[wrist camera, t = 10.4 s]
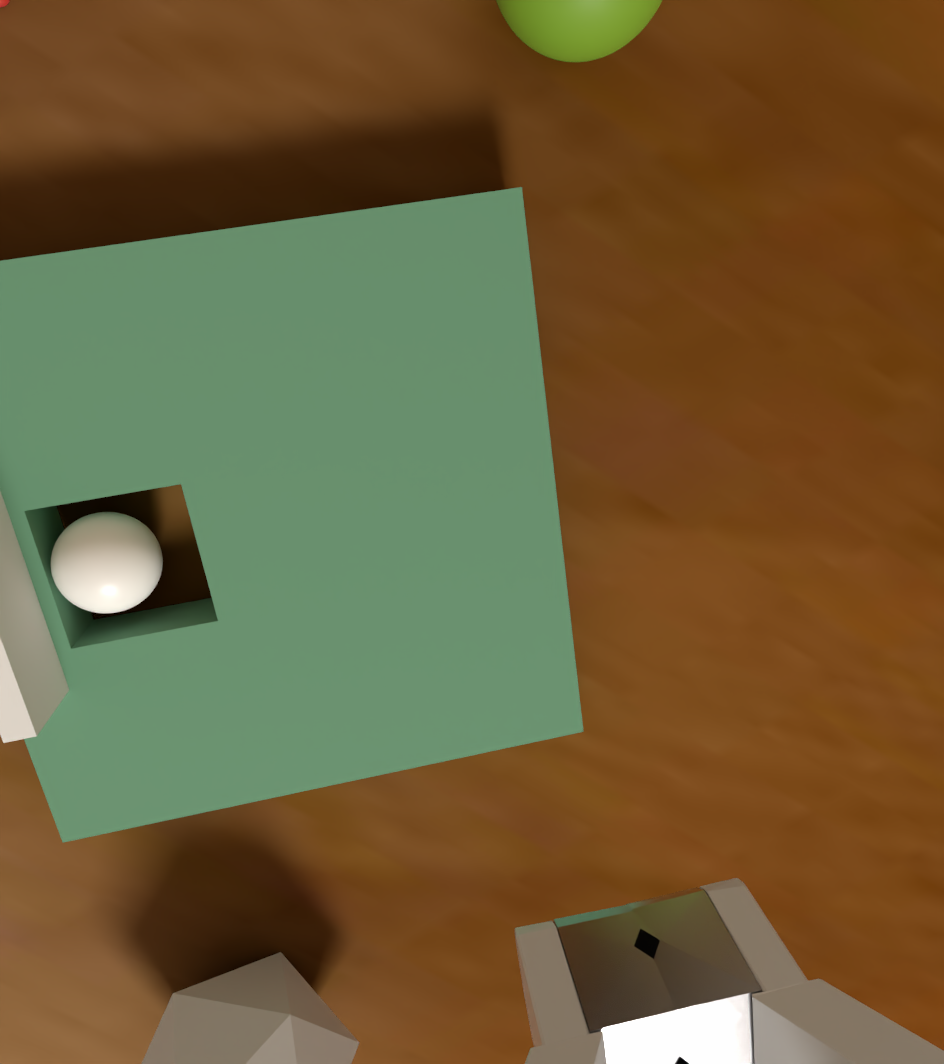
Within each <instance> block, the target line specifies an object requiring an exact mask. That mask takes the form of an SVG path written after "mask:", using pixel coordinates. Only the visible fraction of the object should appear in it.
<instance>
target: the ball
mask: <svg viewBox="0 0 944 1064" xmlns="http://www.w3.org/2000/svg"><path fill="white" fill-rule="evenodd" d="M162 566H163V557H162V551H161V548H160V545H159V542H158V541H157V539H156V537H155V535H154V534H153V533H152V532H151V530H150V529H149V528H148V527H147V526H146V525H144V524H143V523H142V522H140V521H139V520H137V519H135V518H133V517H131V516H128V515H125V514H121V513H116V512H99V513H94V514H90V515H87V516H84V517H82V518H80V519H78V520H76V521H75V522H73V523H72V524H70V525H69V526H68V527H67V528H66V529H65V530H64V531H63V532H62V533H61V535H60V536H59V537H58V539H57V541H56V543H55V545H54V547H53V550H52V555H51V573H52V577H53V579H54V582H55V584H56V586H57V588H58V589H59V591H60V592H61V594H62V595H63V596H64V597H65V598H66V599H67V600H68V601H70V602H71V603H73V604H74V605H76V606H78V607H80V608H81V609H84V610H87V611H91V612H95V613H103V614H104V613H116V612H121V611H125V610H128V609H130V608H132V607H134V606H136V605H138V604H139V603H141V602H142V601H143V600H145V599H146V598H147V597H148V596H149V595H150V594H151V592H152V591H153V590H154V588H155V587H156V585H157V583H158V581H159V579H160V576H161V572H162Z"/></svg>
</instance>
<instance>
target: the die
mask: <svg viewBox="0 0 944 1064" xmlns="http://www.w3.org/2000/svg"><path fill="white" fill-rule="evenodd" d="M358 1045H359V1042H358V1041H357V1039H356V1038H355V1037H354V1036H353V1035H352V1034H351V1033H350V1031H349V1030H348V1029H347V1028H346V1027H345V1026H344V1024H343V1023H342V1022H341V1021H340V1020H339V1019H338V1018H337V1016H336V1015H335V1014H334V1013H333V1012H332V1011H331V1009H330V1008H329V1007H328V1006H327V1005H326V1004H325V1003H324V1001H323V1000H322V999H321V998H320V997H319V996H318V994H317V993H316V992H315V991H314V990H313V989H312V988H311V986H310V985H309V984H308V983H307V982H306V981H305V979H304V978H303V977H302V976H301V975H300V974H299V973H298V971H297V970H296V969H295V968H294V967H293V966H292V964H291V963H290V962H289V961H288V960H287V959H286V958H285V956H284V955H283V954H282V953H281V952H279V953H277V954H274V955H272V956H269V957H266V958H264V959H261V960H258V961H256V962H253V963H251V964H248V965H245V966H243V967H240V968H238V969H235V970H232V971H230V972H227V973H225V974H222V975H219V976H217V977H214V978H212V979H209V980H206V981H204V982H201V983H199V984H196V985H193V986H191V987H188V988H185V989H183V990H180V991H178V992H175V993H173V994H172V996H171V998H170V1001H169V1003H168V1005H167V1007H166V1010H165V1012H164V1014H163V1017H162V1019H161V1021H160V1023H159V1026H158V1028H157V1030H156V1032H155V1035H154V1037H153V1039H152V1041H151V1044H150V1046H149V1048H148V1050H147V1053H146V1055H145V1057H144V1059H143V1062H142V1064H351V1063H352V1060H353V1058H354V1055H355V1052H356V1050H357V1047H358Z"/></svg>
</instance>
